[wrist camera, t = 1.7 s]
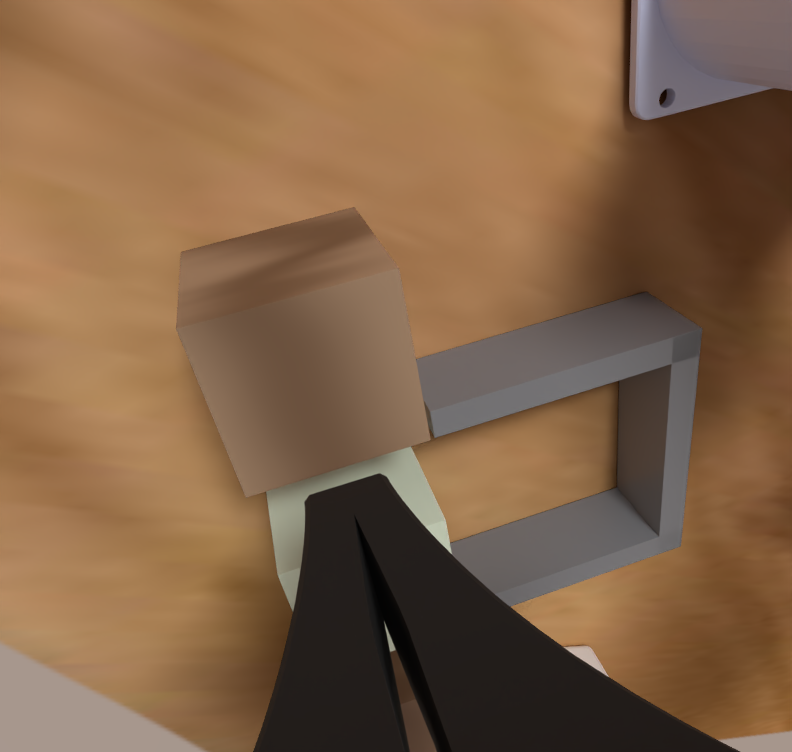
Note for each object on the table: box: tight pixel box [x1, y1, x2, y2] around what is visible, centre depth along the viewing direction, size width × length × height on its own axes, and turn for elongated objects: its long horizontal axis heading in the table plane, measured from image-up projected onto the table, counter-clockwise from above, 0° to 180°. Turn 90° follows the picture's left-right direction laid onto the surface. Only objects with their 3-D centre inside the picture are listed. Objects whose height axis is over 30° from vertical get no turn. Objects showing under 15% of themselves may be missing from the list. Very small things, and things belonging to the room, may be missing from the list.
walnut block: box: [176, 207, 431, 498], centre depth 17 cm, size 5×5×5 cm
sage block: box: [266, 447, 452, 652], centre depth 22 cm, size 5×5×5 cm
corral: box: [416, 292, 702, 606], centre depth 23 cm, size 9×10×3 cm
